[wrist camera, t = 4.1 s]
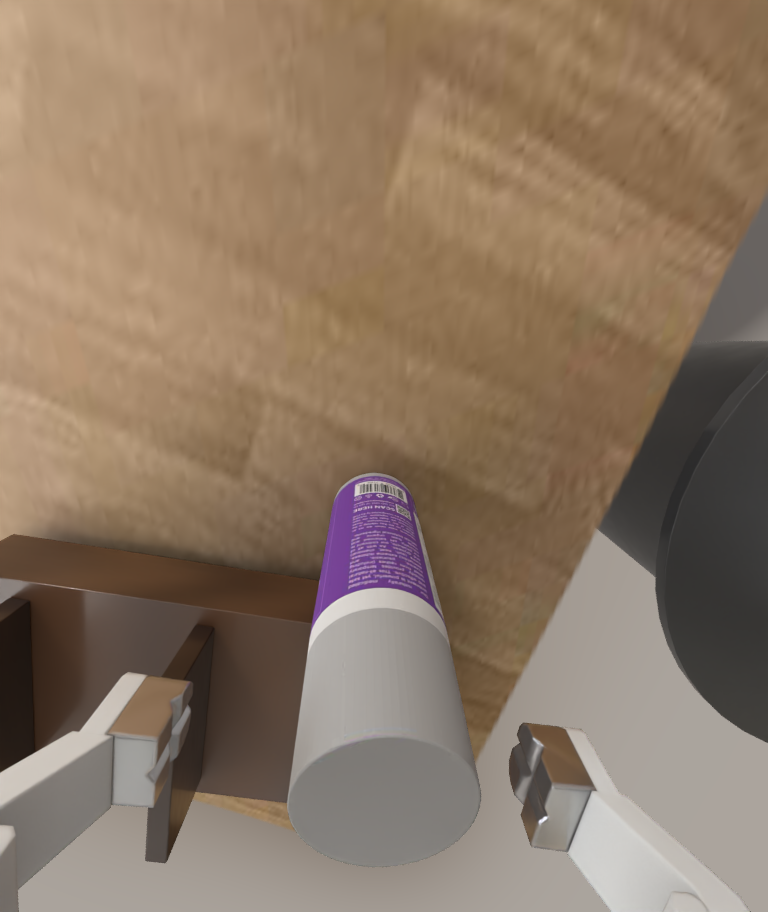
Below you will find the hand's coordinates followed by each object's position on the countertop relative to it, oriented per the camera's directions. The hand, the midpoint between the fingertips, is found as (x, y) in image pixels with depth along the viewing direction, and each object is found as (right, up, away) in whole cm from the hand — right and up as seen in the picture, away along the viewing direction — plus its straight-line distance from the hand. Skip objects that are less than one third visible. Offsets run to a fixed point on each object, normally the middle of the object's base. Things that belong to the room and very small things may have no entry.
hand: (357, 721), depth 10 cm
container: (0, +3, +14) cm, 14 cm away
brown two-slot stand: (-11, -6, +16) cm, 20 cm away
